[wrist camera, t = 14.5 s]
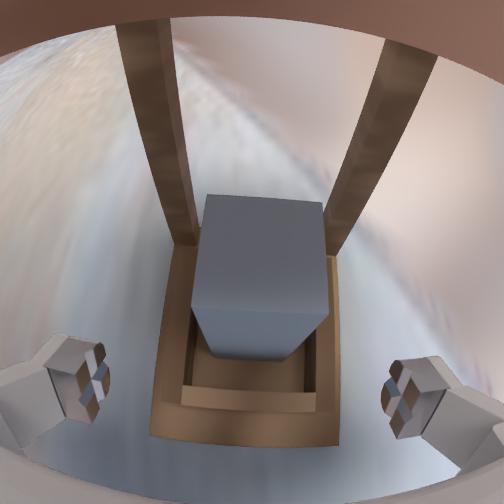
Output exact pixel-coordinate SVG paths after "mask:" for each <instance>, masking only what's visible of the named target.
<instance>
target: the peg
mask: <svg viewBox="0 0 504 504" xmlns="http://www.w3.org/2000/svg"><path fill="white" fill-rule="evenodd" d="M191 308H192V310H193V312H194V315H195V317H196V319H197V321H198V324H199V326H200V328H201V330H202V333H203V335H204V337H205V339H206V341H207V343H208V346H209V348H210V350H211V352H212V354H213V356H214V358H219V359H233V360H248V361H268V362H283V361H284V360H285V359H286V358H287V357H288V356H289V355H290V354H291V353H292V352H293V351H294V350H295V349H296V348H297V347H298V346H299V345H300V344H301V343H302V342H303V341H304V340H305V339H306V338H307V337H308V336H309V335H310V334H311V333H312V332H313V331H314V330H315V329H316V327H317V326H318V325H319V324H320V323H321V322H322V321H323V320H324V319H325V318H326V317H327V316H328V315H329V301H328V278H327V260H326V245H325V231H324V218H323V207H322V203H321V202H310V201H299V200H287V199H275V198H261V197H246V196H230V195H211V194H207V197H206V204H205V210H204V216H203V222H202V229H201V235H200V242H199V249H198V256H197V263H196V270H195V278H194V285H193V293H192V301H191Z"/></svg>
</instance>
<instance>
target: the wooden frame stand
mask: <svg viewBox="0 0 504 504" xmlns="http://www.w3.org/2000/svg"><path fill="white" fill-rule="evenodd" d="M192 16H193V17H194V16H243V17H262V18H275V19H286V20H294V21H302V22H309V23H316V24H323V25H328V26H334V27H339V28H344V29H349V30H354V31H359V32H363V33H367V34H371V35H375V36H379V37H383V38H386V39H385V43H384V46H383V49H382V53H381V55H380V58H379V62H378V65H377V68H376V71H375V74H374V77H373V80H372V83H371V86H370V89H369V92H368V95H367V98H366V100H365V103H364V106H363V109H362V112H361V115H360V118H359V120H358V123H357V126H356V129H355V131H354V134H353V137H352V140H351V142H350V145H349V148H348V150H347V153H346V156H345V159H344V161H343V164H342V166H341V169H340V172H339V174H338V177H337V179H336V182H335V185H334V187H333V190H332V192H331V195H330V197H329V200H328V202H327V205H326V207H325V210H324V212H323V218H324V231H325V245H326V260H327V278H328V301H329V315H328V316H327V317H326V318H325V319H324V320H323V321H322V322H321V323H320V324H319V325H318V326H317V327H316V329H315V330H314V331H313V332H312V333H311V334H310V335H309V336H308V337H307V338H306V339H305V340H304V341H303V342H302V343H301V344H300V345H299V346H298V347H297V348H296V349H295V350H294V351H293V352H292V353H291V354H290V355H289V356H288V357H287V358H286V359H285V360H284V361H283V362H268V361H248V360H233V359H219V358H214V356H213V354H212V352H211V350H210V348H209V346H208V343H207V341H206V339H205V337H204V335H203V333H202V330H201V328H200V326H199V324H198V321H197V319H196V317H195V315H194V312H193V310H192V308H191V301H192V293H193V285H194V278H195V270H196V263H197V256H198V249H199V242H200V235H201V229H202V227H199V223H198V218H197V212H196V206H195V201H194V195H193V189H192V183H191V176H190V170H189V164H188V158H187V151H186V144H185V138H184V131H183V124H182V117H181V109H180V102H179V94H178V87H177V79H176V70H175V62H174V53H173V44H172V34H171V24H170V18H176V17H192ZM111 25H115V27H116V32H117V37H118V42H119V47H120V51H121V56H122V61H123V65H124V70H125V74H126V78H127V82H128V87H129V91H130V95H131V99H132V103H133V107H134V111H135V115H136V119H137V122H138V126H139V130H140V134H141V137H142V141H143V144H144V148H145V152H146V155H147V159H148V162H149V165H150V169H151V172H152V176H153V179H154V182H155V186H156V189H157V192H158V195H159V199H160V202H161V205H162V208H163V211H164V214H165V217H166V221H167V224H168V227H169V230H170V233H171V236H172V239H173V242H174V250H173V256H172V261H171V267H170V273H169V278H168V284H167V290H166V297H165V303H164V309H163V316H162V323H161V330H160V337H159V345H158V353H157V361H156V369H155V378H154V387H153V397H152V408H151V420H150V433H149V435H151V436H156V437H162V438H168V439H175V440H182V441H189V442H197V443H206V444H216V445H228V446H244V447H271V448H298V447H325V446H339V425H340V319H339V295H338V277H337V261H336V255H337V254H338V252H339V250H340V249H341V247H342V245H343V244H344V242H345V240H346V238H347V237H348V235H349V233H350V231H351V230H352V228H353V226H354V224H355V223H356V221H357V219H358V217H359V216H360V214H361V212H362V210H363V209H364V207H365V205H366V203H367V201H368V199H369V198H370V196H371V194H372V192H373V190H374V188H375V186H376V185H377V183H378V181H379V179H380V177H381V175H382V173H383V172H384V170H385V168H386V166H387V164H388V162H389V160H390V158H391V156H392V154H393V152H394V150H395V148H396V146H397V144H398V142H399V140H400V138H401V136H402V134H403V132H404V130H405V128H406V126H407V124H408V122H409V120H410V118H411V116H412V114H413V111H414V109H415V107H416V105H417V103H418V101H419V98H420V96H421V94H422V92H423V90H424V88H425V85H426V83H427V81H428V79H429V76H430V74H431V72H432V69H433V67H434V65H435V62H436V60H437V57H438V55H439V56H441V57H444V58H447V59H449V60H451V61H454V62H456V63H459V64H461V65H464V66H466V67H468V68H470V69H473V70H475V71H477V72H479V73H481V74H483V75H485V76H488V77H489V78H491V79H494V80H495V81H498V82H499V83H501V84H503V85H504V0H0V57H1V56H4V55H6V54H9V53H12V52H14V51H17V50H20V49H23V48H26V47H28V46H31V45H34V44H38V43H41V42H44V41H47V40H51V39H54V38H58V37H61V36H65V35H69V34H73V33H77V32H81V31H86V30H90V29H95V28H100V27H105V26H111Z"/></svg>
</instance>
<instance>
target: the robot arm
mask: <svg viewBox="0 0 504 504" xmlns="http://www.w3.org/2000/svg"><path fill="white" fill-rule="evenodd" d="M105 356H106V353H105V349H104V345H103V344H102V343H100V342H96V341H91V340H86V339H82V338H77V337H73V336H68V335H64V334H59V333H57V334H54V335H53V336H52V337H51V338H50V339H49V340H48V341H47V342H46V343H45V344H44V345H43V346H42V348H41V349H40V350H39V351H38V352H37V353H36V354H35V355H34V356H33V357H32V359H31V360H30V361H29V362H26V361H23V362H20V363H18V364H15V365H12V366H10V367H7V368H4V369H2V370H0V504H185V503H178V502H171V501H165V500H159V499H154V498H149V497H144V496H139V495H135V494H131V493H126V492H122V491H118V490H115V489H111V488H107V487H104V486H100V485H97V484H94V483H90V482H87V481H84V480H81V479H78V478H75V477H72V476H69V475H67V474H64V473H61V472H59V471H56V470H53V469H51V468H48V467H46V466H44V465H41V464H39V463H37V462H34V461H32V460H30V459H28V458H27V456H26V454H25V453H24V451H23V450H22V448H23V447H24V446H26V445H27V444H29V443H31V442H32V441H34V440H35V439H37V438H38V437H40V436H41V435H43V434H44V433H46V432H47V431H49V430H50V429H52V428H53V427H55V426H56V425H58V424H59V423H61V422H62V421H64V420H65V419H66V418H69V419H72V420H76V421H80V422H84V423H88V424H92V423H93V421H94V419H95V417H96V415H97V413H98V411H99V409H100V408H99V404H98V402H99V401H101V400H103V399H105V397H106V395H107V393H108V391H109V386H110V372H109V368H108V367H107V365H106V364H105V363H104V362H103V359H104V358H105ZM389 373H390V375H391V378H390V379H389V380H387V381H386V382H385V383H384V386H383V389H382V392H381V404H382V408H383V410H384V413H385V414H387V415H388V416H390V417H391V420H390V423H389V424H390V426H391V428H392V430H393V433H394V435H395V437H396V439H401V438H408V437H414V436H420V435H421V437H422V438H423V439H424V440H426V441H427V442H428V443H429V444H430V445H432V446H433V447H434V448H435V449H437V450H438V451H439V452H440V453H442V454H443V455H444V456H445V457H447V458H448V459H449V460H450V461H452V462H453V463H454V464H456V465H457V466H458V467H459V468H461V470H460V471H459V472H458V473H457V475H456V476H455V477H454V478H451V479H448V480H445V481H442V482H439V483H435V484H432V485H429V486H425V487H422V488H418V489H415V490H411V491H407V492H403V493H399V494H394V495H390V496H385V497H381V498H375V499H370V500H364V501H358V502H352V503H345V504H504V403H502V402H500V401H498V400H496V399H494V398H492V397H490V396H488V395H486V394H484V393H482V392H480V391H478V390H476V389H474V388H471V387H469V386H463V384H462V383H461V382H460V381H459V379H458V378H457V377H456V376H455V374H454V373H453V372H452V370H451V369H450V368H449V367H448V365H447V364H446V363H445V362H444V361H443V359H442V358H441V357H439V356H430V357H423V358H417V359H404V360H395V361H394V362H393V363H392V365H391V367H390V370H389Z"/></svg>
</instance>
